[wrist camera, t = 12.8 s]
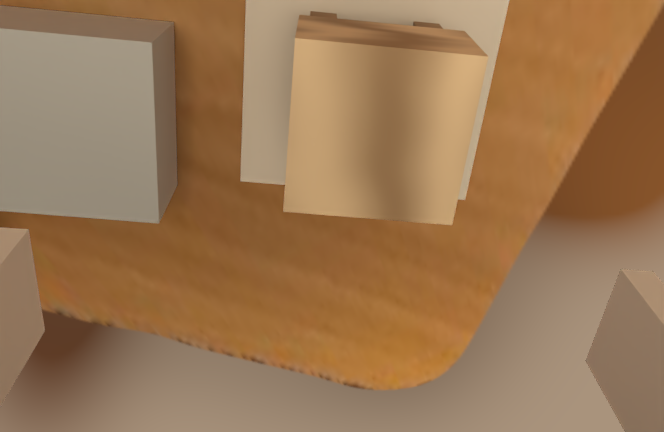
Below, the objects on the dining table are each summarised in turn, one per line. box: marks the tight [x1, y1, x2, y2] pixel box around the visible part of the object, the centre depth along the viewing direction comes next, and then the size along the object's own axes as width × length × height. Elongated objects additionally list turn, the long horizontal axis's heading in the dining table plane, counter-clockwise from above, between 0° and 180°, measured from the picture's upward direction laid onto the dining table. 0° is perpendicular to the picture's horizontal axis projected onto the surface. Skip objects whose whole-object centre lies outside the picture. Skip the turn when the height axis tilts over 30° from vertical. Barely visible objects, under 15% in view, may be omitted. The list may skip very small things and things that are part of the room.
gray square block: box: [0, 5, 178, 223], centre depth 34 cm, size 10×10×5 cm
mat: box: [240, 0, 509, 200], centre depth 36 cm, size 14×14×1 cm
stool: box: [283, 11, 488, 225], centre depth 31 cm, size 8×8×9 cm
